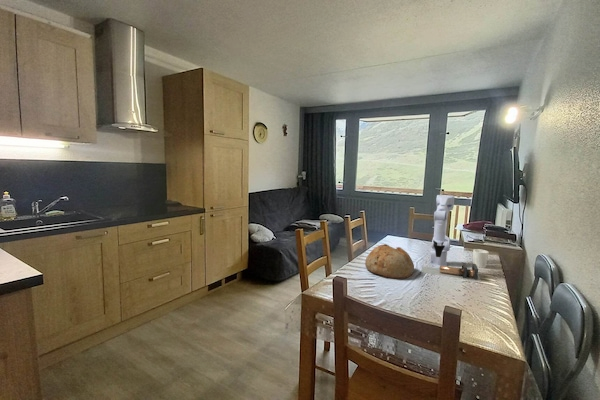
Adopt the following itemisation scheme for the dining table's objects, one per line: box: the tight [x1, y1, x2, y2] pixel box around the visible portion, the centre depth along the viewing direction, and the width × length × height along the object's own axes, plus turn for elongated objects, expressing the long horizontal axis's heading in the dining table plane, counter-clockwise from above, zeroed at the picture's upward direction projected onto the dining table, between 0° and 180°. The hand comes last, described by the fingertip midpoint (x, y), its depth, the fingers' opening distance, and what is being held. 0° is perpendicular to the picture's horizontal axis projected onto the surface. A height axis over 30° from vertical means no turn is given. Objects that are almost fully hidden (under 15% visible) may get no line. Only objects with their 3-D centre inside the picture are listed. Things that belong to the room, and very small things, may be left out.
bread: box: [364, 243, 415, 279], centre depth 160 cm, size 26×23×15 cm
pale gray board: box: [421, 265, 482, 282], centre depth 157 cm, size 29×11×1 cm, turn 66°
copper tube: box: [439, 265, 474, 277], centre depth 154 cm, size 18×4×4 cm
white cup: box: [472, 248, 490, 269], centre depth 168 cm, size 8×8×10 cm
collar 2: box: [471, 262, 479, 281], centre depth 151 cm, size 2×9×6 cm, turn 156°
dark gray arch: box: [461, 261, 468, 278], centre depth 153 cm, size 2×9×6 cm, turn 155°
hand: (437, 254), depth 158 cm, fingers open, 7 cm apart
